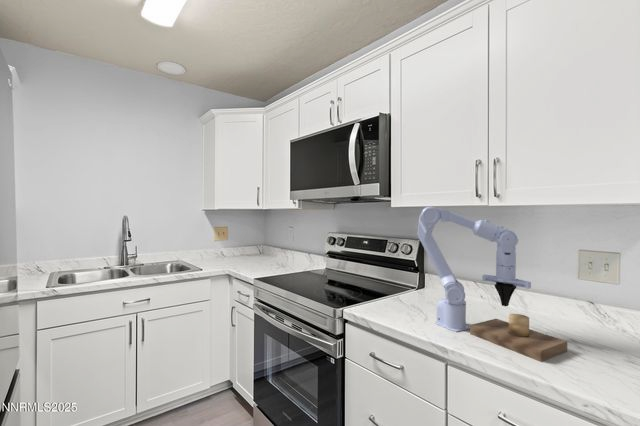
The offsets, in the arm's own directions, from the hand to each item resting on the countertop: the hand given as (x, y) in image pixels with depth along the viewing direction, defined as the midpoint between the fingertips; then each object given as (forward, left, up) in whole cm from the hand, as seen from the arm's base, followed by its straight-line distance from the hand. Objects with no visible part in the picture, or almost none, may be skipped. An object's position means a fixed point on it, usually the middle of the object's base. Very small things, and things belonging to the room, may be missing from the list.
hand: (505, 305), depth 108 cm
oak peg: (+7, -4, -9) cm, 12 cm away
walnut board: (+6, -4, -9) cm, 12 cm away
